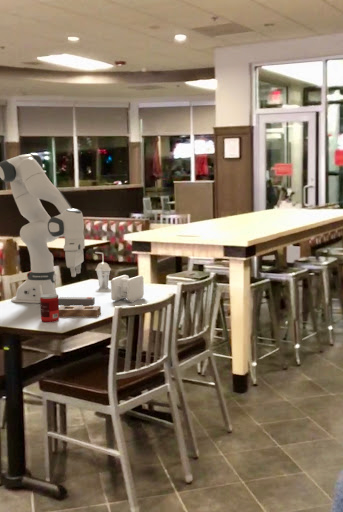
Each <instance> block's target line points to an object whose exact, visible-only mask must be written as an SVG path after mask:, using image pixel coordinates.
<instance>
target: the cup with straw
mask: <svg viewBox="0 0 343 512" xmlns="http://www.w3.org/2000/svg"><path fill="white" fill-rule="evenodd" d="M94 254H100V255H101V256H102V261H101V262H99V263H98V264H97V266H96V268H95V271H96V274H97V279H98V286H99V289H109V280H110V271H112V268H111V267H110V264H108V263H107V262H105V261H104V259H105V258H104V252H100V251H94Z"/></svg>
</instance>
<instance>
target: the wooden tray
mask: <svg viewBox="0 0 343 512" xmlns="http://www.w3.org/2000/svg"><path fill="white" fill-rule="evenodd" d="M101 308H102V307H101V306H100V305H93V306H64V305H59V317H79V318H80V317H81V318H82V317H83V318H85V317H89V318H91V317H95V318H97V317H98V316H99V315H100V314H101V311H102V310H101Z"/></svg>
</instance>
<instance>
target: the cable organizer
mask: <svg viewBox="0 0 343 512" xmlns="http://www.w3.org/2000/svg"><path fill="white" fill-rule="evenodd" d="M110 289H111V290H110V292H111V300H112V301H115V302H119V301H120V300H124V299H126V300H127V301H128V302H129V303H134V302H135V301H140V300H141V299H142V298H143V297H144V294H145V293H144V277H143V275H137V276H134V277H129V275H127V274H123V275H120V276H117V277H113V278H112V279H111V281H110Z"/></svg>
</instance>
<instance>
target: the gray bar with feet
mask: <svg viewBox="0 0 343 512" xmlns="http://www.w3.org/2000/svg"><path fill="white" fill-rule="evenodd" d="M58 299H59V306H95V301H96V300H95V297H93V296H87V297H86V296H85V297H82V296H81V297H79V296H78V297H75V296H73V297H72V296H71V297H69V296H67V297H63V296H62V297H61V296H60V297H58Z"/></svg>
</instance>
